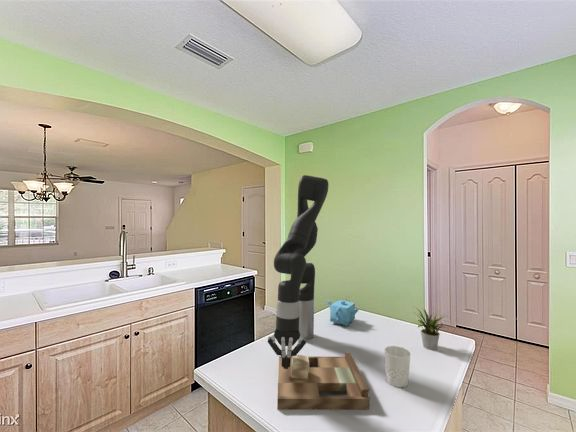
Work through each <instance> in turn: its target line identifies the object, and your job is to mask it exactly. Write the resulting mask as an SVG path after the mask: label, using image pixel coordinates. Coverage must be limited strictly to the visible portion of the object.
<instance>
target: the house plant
mask: <svg viewBox="0 0 576 432" xmlns="http://www.w3.org/2000/svg"><path fill="white" fill-rule="evenodd" d="M413 308H416V307H415V306H413ZM416 309H417V311H418V314H417V313H416V312H414V311H413V314H414V313H415V314H414V315H416V316H417V317H418V318H420V319H418V320H417V322H418V325H417V328H422V329H421V330H420V334H421V341H422V346H423V348H424V349H426V350H431V351H436V350H438V344H439V338H440V332H439V331H440V330H439V329H441V328H445V324H443V325H442V324H441V323H439V322H440V320H442V319H443V318H444V317H446V316H447V314H444V315H442V316H441V317H439V318H437V316H438V312H436V313H434V312H433V310H434V308H432V309H431V312H430V315H429V314H428V312H427V311H426V309H425V308H422V310H423V312H424V315H425V317H424V315H423V313H422V311H420V309H418V308H416ZM432 312H433V313H432ZM433 314H434V318H433V319H432V317H433ZM413 323H416V322H413ZM419 323H420V324H419Z"/></svg>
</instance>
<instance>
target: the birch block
mask: <svg viewBox="0 0 576 432" xmlns="http://www.w3.org/2000/svg"><path fill="white" fill-rule="evenodd" d="M308 357H309V356H308V355H302V354H297V355H296V356H293V359H292V366H291V376H292V378H297V379H305V380H307V378H308V371H309V359H308Z"/></svg>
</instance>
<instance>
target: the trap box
mask: <svg viewBox="0 0 576 432" xmlns="http://www.w3.org/2000/svg"><path fill="white" fill-rule="evenodd" d="M292 359H293V356H292V357H291V361H290V367H288V369H284V367H282V357H281V356H280V355H278V374H277V375H278V378H277V379H278V380H277V382H278V383H277V408H276V409H277V410H370V397H369V388H368V386H367V384H366V382H365V379H364V377H363V375H362V374H361V371H360V370H359V367H358V365H357V363H356V361H355V359H354V358H353V355H352V353H351V352H344V356H308V359H309V371H308V378H307V380H305V379H297V378H292V376H291V366H292Z"/></svg>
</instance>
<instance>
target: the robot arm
mask: <svg viewBox="0 0 576 432" xmlns="http://www.w3.org/2000/svg"><path fill="white" fill-rule="evenodd" d="M328 191H329V180H328V179H327V178H324V177H318V176H312V175H307V174H304V175H302V176H301V177H300V178H299V181H298V187H297V215H296V219H295V220H294V221H293V222H292V224H291V227H290V230H289V232H288V236H287V238H286V240H285V241H284V242H283V244H282V245H281V247H280V248H279V249H278V251H277V252H276V254H275V256H274V258H273V259H274V260H273V268H274V270H275V271H276V272H277V273H280V274H286V275H290V279H288V280H282V281H280V282H279V283H278V287H277V302H276V303H277V304H276V311H275V313H276V314H275V315H276V316H275V330H274V332H273V335H271V336H268V339H267V343H268V344H269V346H270V348H271V349H272V350H273V352H274V353H275V354H276V355H277V356H281V357H282V367H284V369H288V367H290V361H291V357H292V356H296V355H299V353H300V351H301V350H302V349H303V348H304V347H305V345H306V344H307V341H310V340H312V339H313V338H314V336H315V334H314V333H315V331H314V330H315V329H314V327H315V279H316V268H315V264H314V263H312V262H307V261H306V260H307V259H306V258H305V257H306V256H307V255H308V254H309V253H310V252H311V251H312V249H313V248H314V247H315V246H316V244H317V238H318V233H319V232H318V231H319V227H318V225H317V223H316V220H317V218H318V217H319V214H320V212H321V210H322V207H323V205H324V203H325V201H326V198H327V196H328ZM308 201H312V202H313V203H312V205H311V206H310V207H309V205H308V203H309V202H308ZM301 284H303V285H304V284H305V285H304V286H303V287H301ZM276 342H278V345H277V343H276ZM297 342H298V343H297ZM296 343H297V344H296ZM295 344H296V345H295ZM279 345H280V347H281V348H280V347H279ZM294 345H295V346H294ZM293 346H294V348H293ZM286 347H287V348H286ZM286 349H287V351H286Z"/></svg>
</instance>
